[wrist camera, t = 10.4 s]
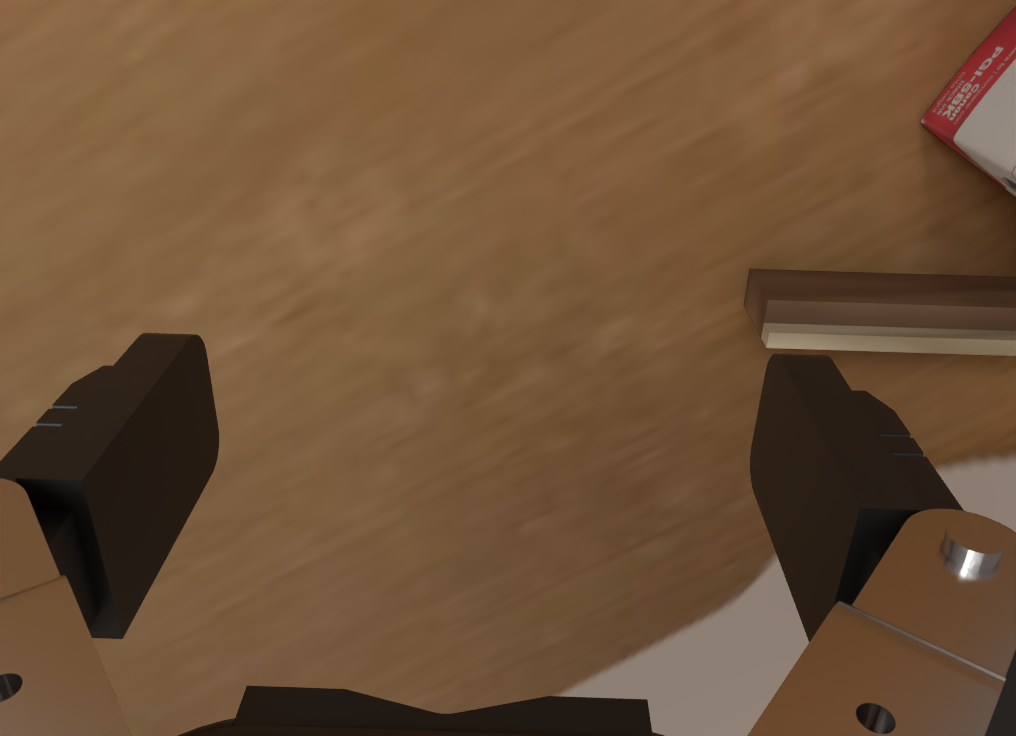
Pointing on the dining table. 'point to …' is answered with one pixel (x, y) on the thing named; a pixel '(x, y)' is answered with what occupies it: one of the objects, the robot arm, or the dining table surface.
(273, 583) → the dining table surface
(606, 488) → the dining table surface
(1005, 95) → the ink box
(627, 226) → the dining table surface
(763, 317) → the frame
